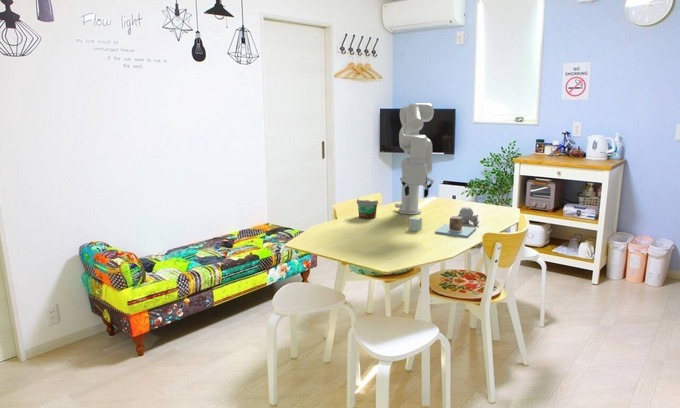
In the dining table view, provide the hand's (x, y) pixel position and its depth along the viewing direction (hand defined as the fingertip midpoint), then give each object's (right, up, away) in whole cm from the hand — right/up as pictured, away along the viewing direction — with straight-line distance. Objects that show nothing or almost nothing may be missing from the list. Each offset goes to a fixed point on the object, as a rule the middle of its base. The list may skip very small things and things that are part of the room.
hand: (416, 196), depth 249 cm
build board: (+20, -18, 0) cm, 26 cm away
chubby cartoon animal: (+30, -15, +16) cm, 37 cm away
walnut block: (+20, -16, 0) cm, 26 cm away
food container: (-24, -12, +27) cm, 38 cm away
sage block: (0, -17, +4) cm, 17 cm away
